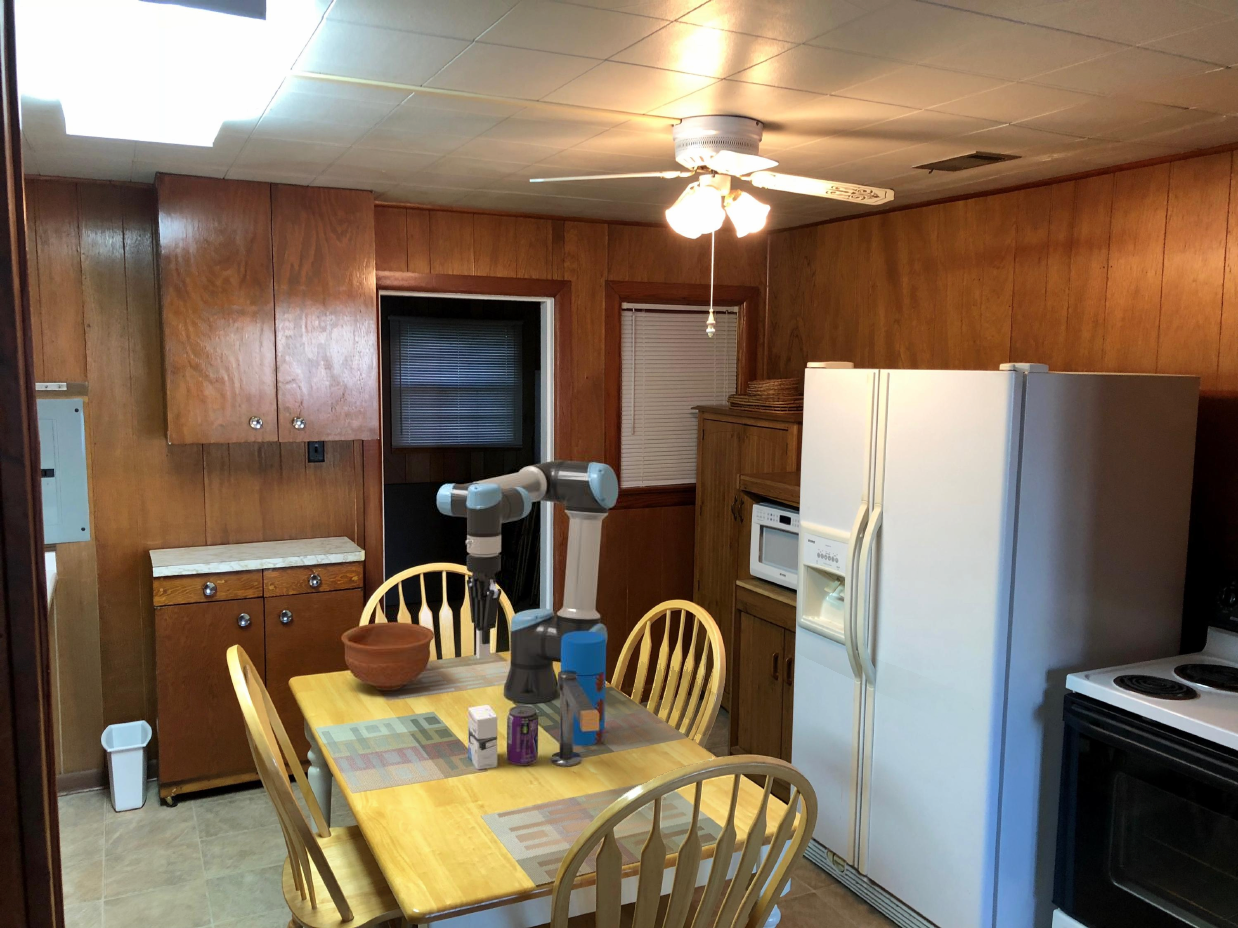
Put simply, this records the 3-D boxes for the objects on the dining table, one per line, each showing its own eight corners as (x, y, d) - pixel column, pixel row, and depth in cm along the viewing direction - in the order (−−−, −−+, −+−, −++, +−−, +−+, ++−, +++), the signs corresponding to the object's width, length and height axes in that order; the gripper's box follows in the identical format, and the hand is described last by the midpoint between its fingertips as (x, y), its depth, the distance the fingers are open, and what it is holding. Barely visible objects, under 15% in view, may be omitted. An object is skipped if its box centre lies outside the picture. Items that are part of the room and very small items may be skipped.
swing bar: (556, 686, 220) (556, 670, 219) (574, 685, 221) (575, 669, 221) (580, 731, 193) (580, 713, 193) (601, 729, 194) (601, 712, 194)
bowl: (363, 669, 282) (363, 619, 280) (445, 674, 278) (446, 624, 277) (326, 697, 257) (326, 643, 256) (416, 704, 254) (416, 649, 252)
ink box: (467, 755, 221) (467, 706, 220) (488, 752, 223) (488, 703, 222) (476, 770, 214) (476, 718, 212) (498, 767, 216) (498, 716, 214)
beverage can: (532, 768, 215) (533, 716, 214) (502, 765, 216) (502, 713, 215) (541, 756, 222) (542, 706, 221) (512, 753, 223) (512, 703, 222)
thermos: (550, 736, 234) (551, 636, 231) (581, 725, 242) (583, 628, 239) (582, 749, 226) (583, 646, 224) (613, 737, 234) (615, 637, 232)
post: (567, 751, 225) (568, 683, 223) (587, 760, 220) (589, 690, 218) (544, 759, 220) (545, 689, 218) (564, 769, 215) (565, 697, 213)
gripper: (456, 550, 217) (455, 651, 219) (481, 560, 206) (480, 667, 209) (486, 547, 221) (485, 647, 224) (512, 557, 210) (511, 661, 213)
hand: (483, 656), depth 216 cm, fingers closed
